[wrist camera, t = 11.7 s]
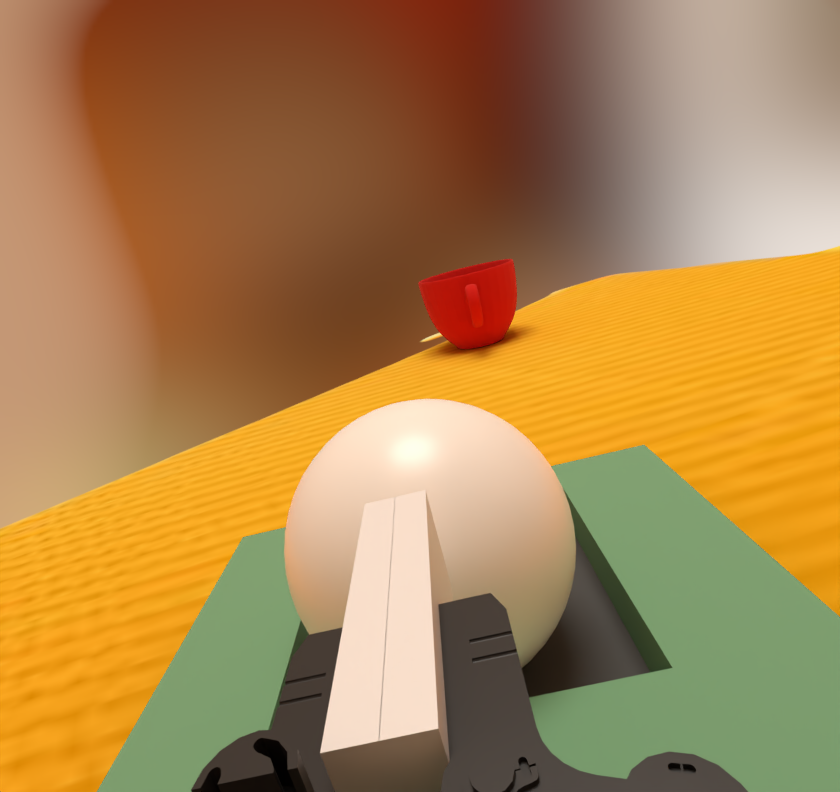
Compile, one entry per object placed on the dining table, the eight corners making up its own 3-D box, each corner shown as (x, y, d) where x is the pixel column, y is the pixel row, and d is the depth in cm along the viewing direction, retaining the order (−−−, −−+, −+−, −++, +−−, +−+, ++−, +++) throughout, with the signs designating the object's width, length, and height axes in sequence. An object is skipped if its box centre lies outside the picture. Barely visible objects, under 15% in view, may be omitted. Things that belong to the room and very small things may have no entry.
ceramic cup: (434, 370, 66) (414, 289, 63) (435, 343, 82) (419, 278, 79) (539, 346, 65) (524, 262, 62) (520, 324, 81) (506, 257, 78)
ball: (622, 411, 20) (640, 709, 18) (434, 439, 27) (425, 655, 25) (436, 331, 14) (418, 788, 11) (250, 396, 21) (211, 684, 18)
